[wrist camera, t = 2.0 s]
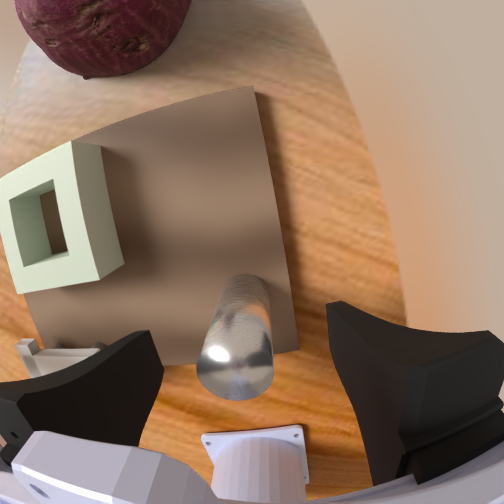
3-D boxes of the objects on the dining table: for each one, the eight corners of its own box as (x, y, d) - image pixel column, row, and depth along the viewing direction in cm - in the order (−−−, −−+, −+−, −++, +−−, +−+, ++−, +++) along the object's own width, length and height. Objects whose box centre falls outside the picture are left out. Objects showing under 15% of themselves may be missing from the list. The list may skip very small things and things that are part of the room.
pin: (272, 313, 16) (279, 395, 9) (227, 320, 16) (207, 403, 10) (264, 269, 16) (267, 334, 9) (217, 277, 16) (187, 344, 9)
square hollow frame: (124, 263, 16) (99, 280, 13) (44, 279, 16) (17, 294, 13) (100, 145, 14) (71, 140, 11) (22, 180, 15) (-8, 183, 12)
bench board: (298, 347, 18) (306, 386, 14) (62, 365, 19) (37, 391, 15) (253, 91, 14) (251, 64, 11) (7, 179, 16) (-30, 183, 12)
